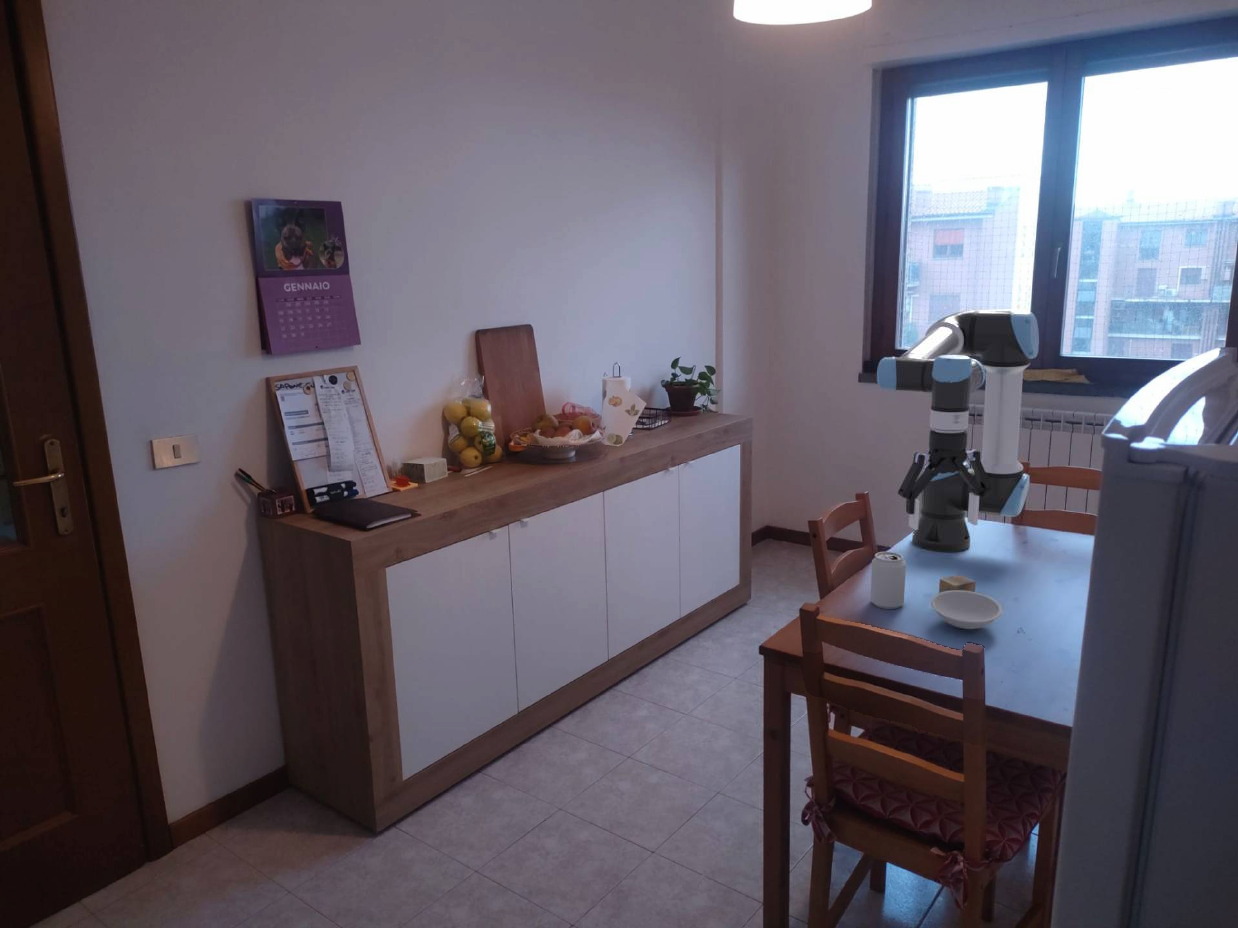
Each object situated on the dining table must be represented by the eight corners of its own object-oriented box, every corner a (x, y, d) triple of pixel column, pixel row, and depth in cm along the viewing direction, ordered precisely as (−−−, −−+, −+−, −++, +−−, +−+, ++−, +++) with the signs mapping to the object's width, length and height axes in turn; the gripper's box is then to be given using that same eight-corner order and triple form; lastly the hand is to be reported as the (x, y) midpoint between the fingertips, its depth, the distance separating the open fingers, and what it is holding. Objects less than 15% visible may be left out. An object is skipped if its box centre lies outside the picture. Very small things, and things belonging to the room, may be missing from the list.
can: (905, 611, 195) (908, 561, 192) (871, 609, 197) (873, 560, 194) (902, 598, 202) (904, 550, 199) (868, 597, 204) (870, 549, 201)
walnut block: (959, 590, 207) (960, 574, 206) (974, 597, 202) (975, 581, 201) (938, 594, 205) (939, 578, 204) (953, 601, 200) (954, 585, 199)
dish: (1003, 647, 176) (1005, 625, 175) (929, 639, 181) (930, 617, 180) (998, 614, 192) (999, 593, 191) (929, 607, 197) (931, 587, 196)
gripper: (900, 436, 176) (896, 535, 181) (1014, 429, 179) (1006, 526, 184) (884, 429, 183) (880, 524, 188) (993, 422, 186) (987, 516, 191)
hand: (943, 525), depth 186 cm, fingers open, 13 cm apart
